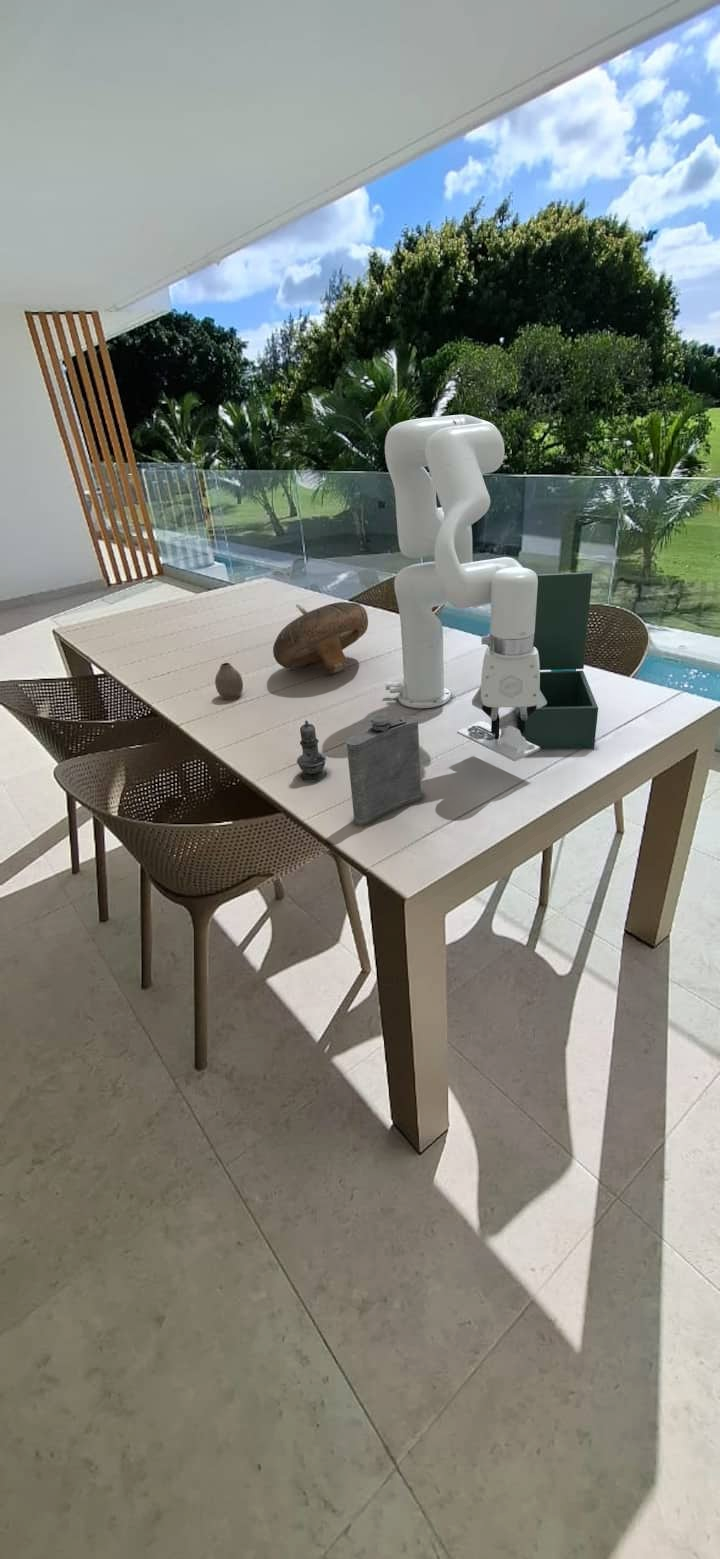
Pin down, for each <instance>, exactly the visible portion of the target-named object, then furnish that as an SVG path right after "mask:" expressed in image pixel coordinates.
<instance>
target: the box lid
mask: <svg viewBox="0 0 720 1559" xmlns="http://www.w3.org/2000/svg"><path fill="white" fill-rule="evenodd" d="M536 575H537V578H538V587H537V602H536V618H535V635H534V647H536V649H537V650H538V654H539V663H540V671H551V670H565V669H576V670H584V668H585V658H586V646H587V638H588V637H587V636H588V624H589V616H590V614H589V613H590V604H591V603H590V602H591V593H592V581H593V572H592V571H586V572H584V571H583V572H566V573H564V572H562V573H546V574H545V573H544V574H536Z"/></svg>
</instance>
